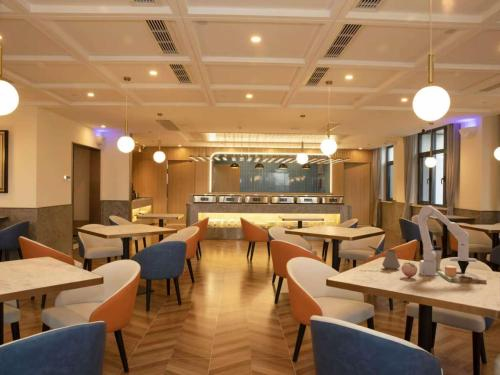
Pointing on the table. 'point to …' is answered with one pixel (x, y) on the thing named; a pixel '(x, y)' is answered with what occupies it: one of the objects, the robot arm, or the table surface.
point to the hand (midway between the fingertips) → (463, 273)
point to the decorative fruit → (409, 269)
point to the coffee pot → (389, 259)
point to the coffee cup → (438, 255)
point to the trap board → (463, 277)
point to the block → (450, 270)
